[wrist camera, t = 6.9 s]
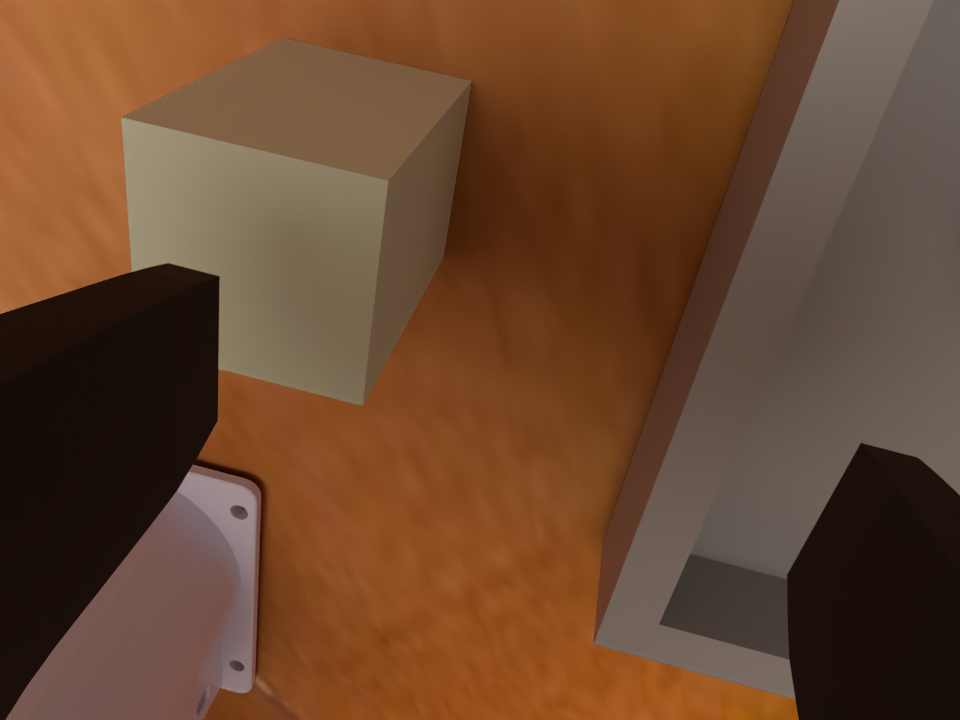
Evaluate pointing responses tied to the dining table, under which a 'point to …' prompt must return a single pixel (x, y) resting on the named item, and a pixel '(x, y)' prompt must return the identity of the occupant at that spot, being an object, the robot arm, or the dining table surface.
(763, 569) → the tray
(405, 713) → the dining table surface
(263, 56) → the sage block
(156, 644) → the robot arm
